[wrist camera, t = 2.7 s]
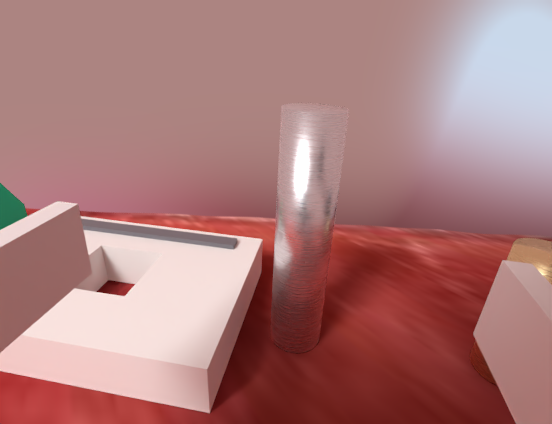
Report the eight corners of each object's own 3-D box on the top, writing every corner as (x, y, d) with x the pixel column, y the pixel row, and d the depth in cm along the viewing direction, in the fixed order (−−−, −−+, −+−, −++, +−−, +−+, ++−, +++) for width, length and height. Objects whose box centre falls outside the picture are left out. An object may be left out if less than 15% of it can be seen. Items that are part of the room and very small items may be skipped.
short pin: (543, 379, 22) (605, 264, 18) (507, 398, 21) (567, 278, 17) (492, 340, 25) (536, 234, 21) (458, 354, 24) (499, 243, 20)
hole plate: (261, 271, 32) (262, 235, 30) (209, 413, 19) (206, 363, 18) (68, 244, 34) (59, 209, 33) (-88, 353, 22) (-115, 305, 20)
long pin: (328, 344, 24) (363, 112, 17) (283, 359, 23) (301, 114, 16) (304, 311, 27) (326, 102, 20) (262, 323, 26) (270, 103, 19)
